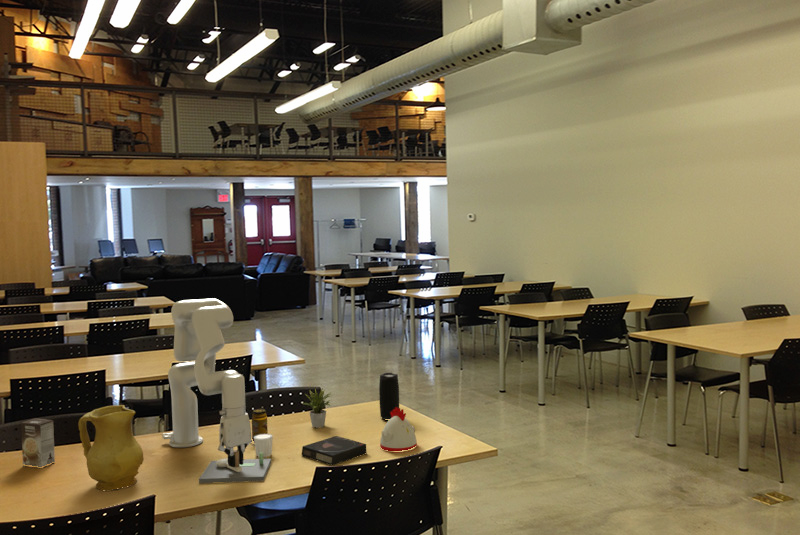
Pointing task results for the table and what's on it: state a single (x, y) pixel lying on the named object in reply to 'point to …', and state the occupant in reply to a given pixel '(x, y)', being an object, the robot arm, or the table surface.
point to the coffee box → (37, 442)
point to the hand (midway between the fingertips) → (235, 464)
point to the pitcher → (111, 447)
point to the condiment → (259, 422)
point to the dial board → (250, 472)
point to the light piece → (225, 462)
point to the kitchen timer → (398, 433)
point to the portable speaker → (388, 394)
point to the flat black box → (334, 450)
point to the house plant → (318, 408)
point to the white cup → (263, 444)
